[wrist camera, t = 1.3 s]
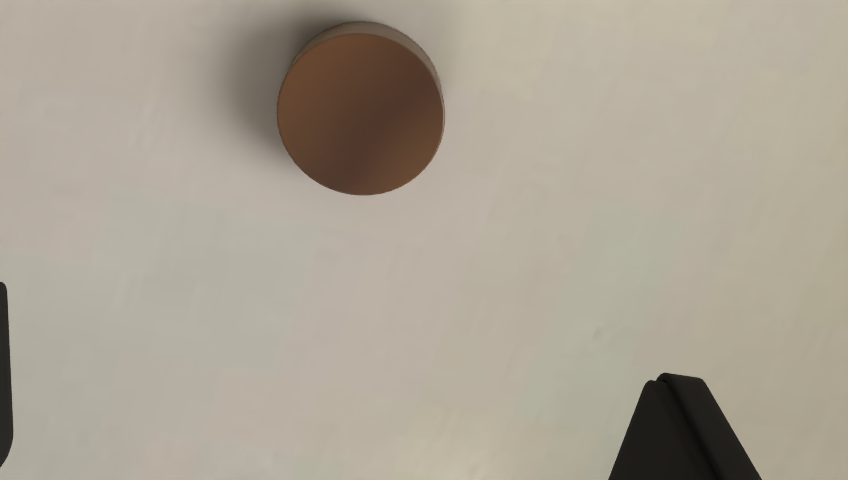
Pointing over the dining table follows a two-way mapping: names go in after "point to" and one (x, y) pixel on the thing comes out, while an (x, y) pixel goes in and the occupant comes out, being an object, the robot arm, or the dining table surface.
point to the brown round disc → (361, 109)
